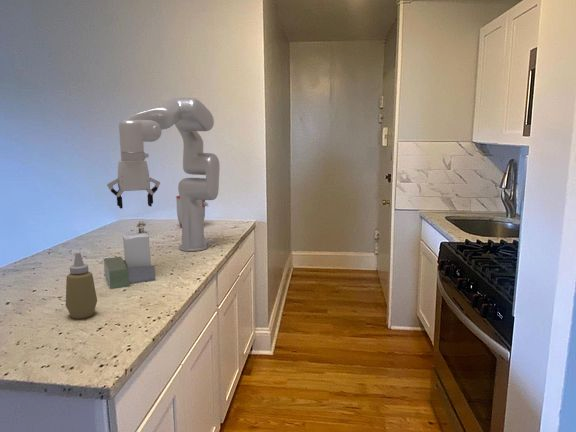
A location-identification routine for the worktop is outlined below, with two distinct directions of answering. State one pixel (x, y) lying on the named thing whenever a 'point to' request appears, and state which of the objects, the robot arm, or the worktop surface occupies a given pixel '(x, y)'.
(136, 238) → the skincare box
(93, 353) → the worktop surface
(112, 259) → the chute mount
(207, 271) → the worktop surface
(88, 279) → the squeeze bottle
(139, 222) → the beige brown figurine
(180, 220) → the citrus juicer
